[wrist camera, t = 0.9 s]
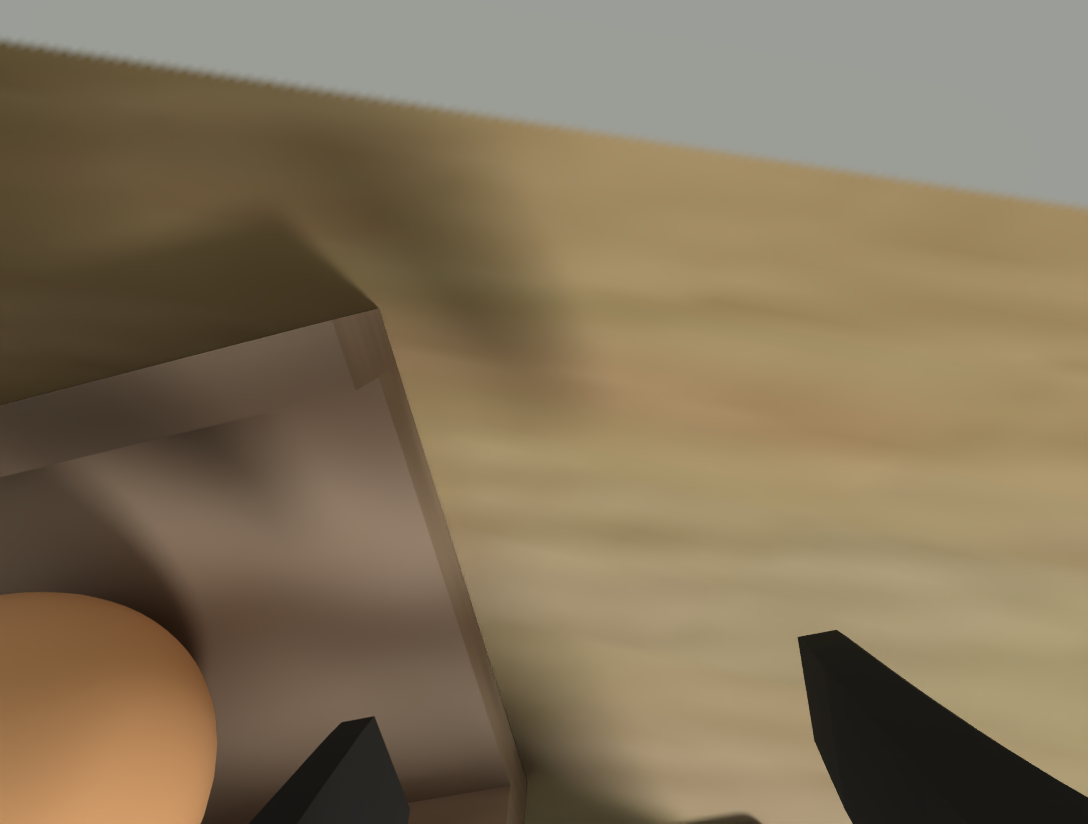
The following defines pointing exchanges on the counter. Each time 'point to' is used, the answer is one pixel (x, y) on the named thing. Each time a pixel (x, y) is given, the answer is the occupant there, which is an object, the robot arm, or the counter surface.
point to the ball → (99, 716)
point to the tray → (272, 557)
